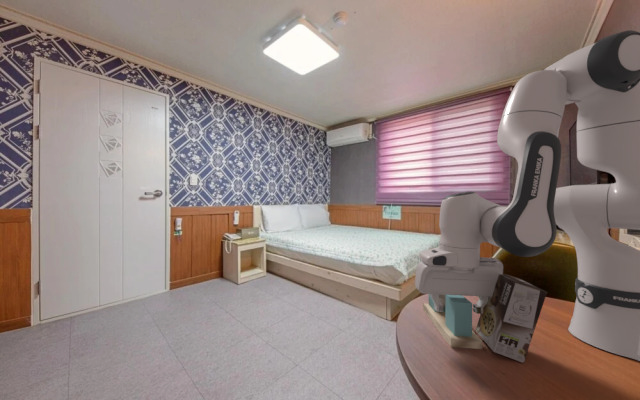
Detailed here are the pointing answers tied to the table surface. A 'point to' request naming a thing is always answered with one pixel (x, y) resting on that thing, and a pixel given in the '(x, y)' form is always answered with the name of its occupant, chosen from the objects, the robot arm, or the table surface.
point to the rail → (439, 322)
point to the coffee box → (511, 317)
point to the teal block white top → (458, 315)
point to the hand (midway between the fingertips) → (458, 311)
